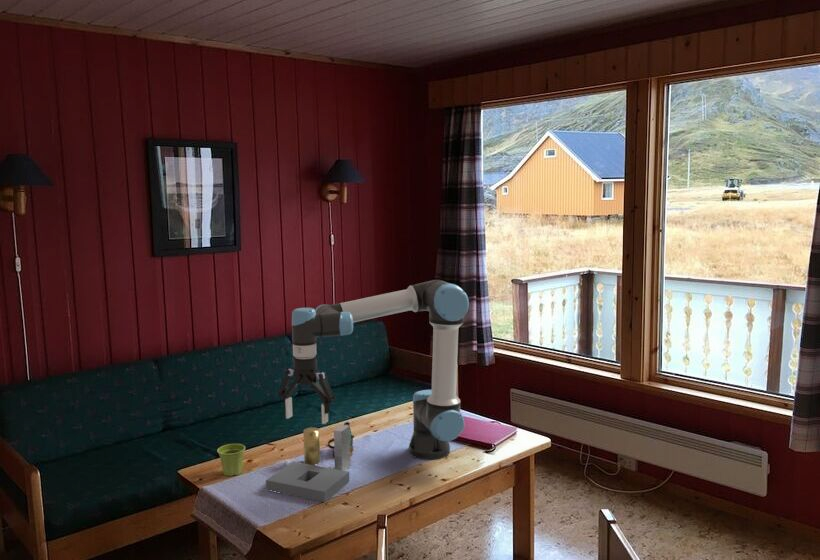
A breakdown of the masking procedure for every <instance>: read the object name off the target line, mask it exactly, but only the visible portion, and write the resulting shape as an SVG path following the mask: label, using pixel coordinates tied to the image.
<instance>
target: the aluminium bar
mask: <svg viewBox="0 0 820 560" xmlns="http://www.w3.org/2000/svg"><path fill="white" fill-rule="evenodd" d="M350 429H351V426H348V425H344V424H341V425H339V426H338V427H336V428H334V429H333V438H334V441H333V446H334V449H333V451H334V454H333V456H334V469H336V470H342V471H345V470H346V469H347V470H348V468H349V467H350V466H351V467H352V464H351V463H352V459H351V458H352V457H351V456H352V455H351V454H350ZM351 467H350V468H351ZM350 468H349V469H350ZM347 470H346V471H347Z"/></svg>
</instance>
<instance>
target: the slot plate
mask: <svg viewBox="0 0 820 560" xmlns="http://www.w3.org/2000/svg"><path fill="white" fill-rule="evenodd" d="M307 480H308V481H307ZM349 483H350V471H347V470H346V471H342V470H336V469H335V468H331V467H330V468H329V467H324V466H318V465H309V464H305V463H304V462H297V461H292V462H290V463H289V464H288V465H286V466H285V467H283V468H282V469H280V470H279V471H277V472H276V473H274V474H273V475H271V476H269V477H268V478H267V479H266V480H265V490H266V489H267V490H272V491H276V492H275V493H277V492H280V493H279V494H282V493H285V494H284V495H286V494H289V495H288V496H291V495H294V496H293V497H296V496H297V498H303V499H306V500H312V501H315V502H316V501H317V502H319V503H321V502H322V503H326V502H327V501H329V499H331V498H332V497H333V496H334V495H336V494H337V493H338V492H339V491H340V490H342V489H343V488H344V487H346V485H347V484H349ZM267 490H266V491H267ZM272 491H271V492H272Z"/></svg>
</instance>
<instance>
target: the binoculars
mask: <svg viewBox="0 0 820 560" xmlns="http://www.w3.org/2000/svg"><path fill="white" fill-rule="evenodd" d="M343 425H348V426H350V425H351V424H350V422H348V421H347V422H344V423H343ZM350 427H351V426H350ZM353 438H355V436H354V434H352V429H351V428H350V454H351V456H353V451H354V450H355V448H354V445H353V444H354V442H353V441H354V439H353ZM332 442H333V443H334V437H333V438H331V439H329V440H328V441H327V447H328V448H329V449H331V450H333V451H332V454H333V455H334V445H331V443H332Z"/></svg>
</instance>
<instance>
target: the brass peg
mask: <svg viewBox="0 0 820 560" xmlns="http://www.w3.org/2000/svg"><path fill="white" fill-rule="evenodd" d="M320 447H321V446H320V428H318V427H314V426H313V427H307V428H304V429H303V451H304V453H303V454H304V455H303V456H304V458H303V459H304V464H309V465H314V466H316V465H315V464H317V465H319V464H320V463H321V453H320V451H321V448H320ZM319 462H320V463H319ZM318 463H319V464H318Z"/></svg>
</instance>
